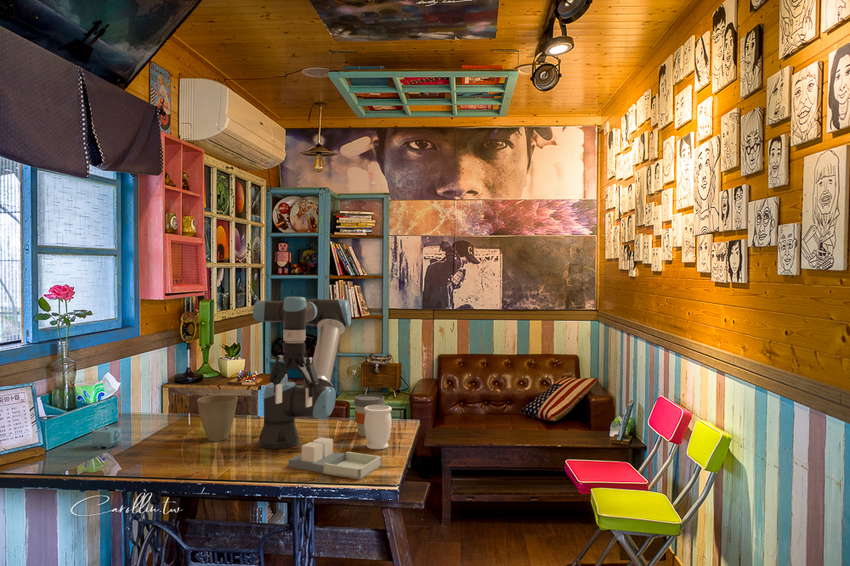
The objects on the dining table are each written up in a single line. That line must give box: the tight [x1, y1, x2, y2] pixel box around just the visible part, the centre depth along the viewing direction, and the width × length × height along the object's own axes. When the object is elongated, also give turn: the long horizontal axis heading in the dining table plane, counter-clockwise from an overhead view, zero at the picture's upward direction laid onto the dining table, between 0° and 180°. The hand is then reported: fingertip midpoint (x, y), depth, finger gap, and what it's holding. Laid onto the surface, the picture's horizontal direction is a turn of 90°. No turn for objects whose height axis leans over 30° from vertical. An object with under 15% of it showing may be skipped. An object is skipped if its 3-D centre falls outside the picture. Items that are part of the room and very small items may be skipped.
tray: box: [323, 451, 383, 481], centre depth 189 cm, size 14×15×3 cm
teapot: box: [88, 425, 122, 450], centre depth 212 cm, size 12×6×8 cm, turn 87°
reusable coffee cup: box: [353, 393, 385, 437], centre depth 235 cm, size 12×13×15 cm
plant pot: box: [197, 394, 238, 442], centre depth 224 cm, size 15×15×16 cm
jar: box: [364, 404, 393, 450], centre depth 216 cm, size 11×10×15 cm
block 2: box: [312, 437, 334, 457], centre depth 198 cm, size 5×5×5 cm
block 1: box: [301, 441, 323, 463], centre depth 192 cm, size 5×5×5 cm
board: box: [288, 451, 346, 474], centre depth 195 cm, size 14×14×2 cm
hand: (293, 404), depth 195 cm, fingers open, 12 cm apart
